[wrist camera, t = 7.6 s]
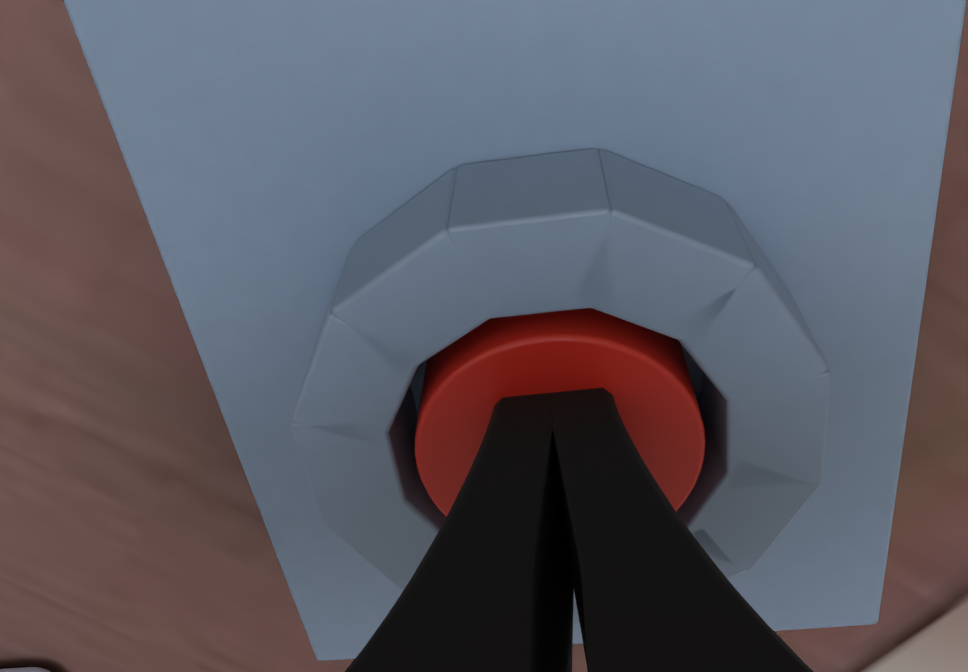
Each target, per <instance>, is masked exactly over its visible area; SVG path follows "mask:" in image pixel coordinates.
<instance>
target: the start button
mask: <svg viewBox="0 0 968 672" xmlns="http://www.w3.org/2000/svg"><path fill="white" fill-rule="evenodd" d="M593 388H604V389H606V390H607V391H608V392H610V393H611V394H612V395H613V398H614V401H615V404H616V407H617V409H618V412H619V415H620V417H621V419H622V421H623V424H624V426H625V428H626V430H627V432H628V434H629V436H630V438H631V439H632V441H633V443H634V445H635V447H636V449H637V450H638V452H639V454H640V456H641V458H642V459H643V461H644V463H645V464H646V466H647V468H648V469H649V471H650V473H651V474H652V476H653V477H654V479H655V480H656V482H657V483H658V485H659V487H660V488H661V490H662V491H663V493H664V494H665V496H666V497H667V499H668V500H669V502H670V503H671V505H672V506H673V508H674V509H675V511H677V510H678V509H679V508H680V507H681V505H682V504H683V503H684V502H685V500H686V499H687V498H688V496H689V494H690V493H691V491H692V489H693V488H694V486H695V483H696V481H697V479H698V476H699V474H700V472H701V468H702V464H703V460H704V456H705V442H706V440H705V430H704V424H703V421H702V417H701V413H700V410H699V406H698V403H697V399H696V396H695V392H694V388H693V385H692V381H691V378H690V374H689V371H688V367H687V364H686V360H685V356H684V353H683V349H682V346H681V343H680V342H679V341H678V340H677V339H675V338H672V337H669V336H666V335H664V334H661V333H658V332H655V331H653V330H650V329H647V328H645V327H642V326H639V325H636V324H634V323H631V322H628V321H625V320H623V319H620V318H617V317H615V316H612V315H609V314H606V313H604V312H601V311H598V310H595V309H593V308H584V309H575V310H565V311H556V312H547V313H537V314H528V315H518V316H509V317H500V318H490V319H489V320H487V321H485V322H484V323H482V324H481V325H479V326H478V327H476V328H475V329H473V330H472V331H470V332H469V333H467V334H466V335H464V336H462V337H461V338H459V339H458V340H456V341H455V342H453V343H452V344H450V345H449V346H447V347H446V348H444V349H443V350H441V351H439V352H438V353H436V354H435V355H433V356H432V357H430V358H429V359H427V363H426V369H425V376H424V382H423V389H422V395H421V401H420V408H419V414H418V421H417V427H416V434H415V458H416V464H417V469H418V472H419V475H420V478H421V481H422V483H423V485H424V487H425V488H426V490H427V492H428V494H429V496H430V498H431V499H432V500H433V502H434V503H435V505H436V506H437V507H438V509H439V510H440V511H441V512H442V513H443V514H444V515H445V516H446V517H447V515H448V513H449V511H450V509H451V507H452V505H453V503H454V501H455V499H456V497H457V495H458V493H459V491H460V489H461V487H462V485H463V483H464V481H465V479H466V477H467V475H468V473H469V471H470V468H471V466H472V464H473V462H474V459H475V457H476V455H477V453H478V450H479V448H480V445H481V443H482V440H483V438H484V435H485V433H486V430H487V427H488V424H489V422H490V419H491V416H492V412H493V409H494V406H495V405H496V403H497V402H498V401H499V400H500V399H501V398H502V397H511V396H521V395H532V394H542V393H552V392H563V391H573V390H583V389H593Z"/></svg>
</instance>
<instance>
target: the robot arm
mask: <svg viewBox="0 0 968 672" xmlns="http://www.w3.org/2000/svg"><path fill="white" fill-rule="evenodd" d="M574 593H575V599H576V605H577V611H578V616H579V622H580V628H581V634H582V639H583V645H584V651H585V657H586V662H587V669H588V672H813V671H812V670H811V669H810V668H809V667H808V666H807V665H806V664H805V663H804V662H803V661H802V660H801V659H800V658H799V657H798V656H797V655H796V654H795V653H794V652H793V651H792V650H791V649H790V647H789V646H788V645H787V644H786V643H785V642H784V641H783V640H782V639H781V638H780V637H779V636H778V635H777V634H776V633H775V632H774V631H773V630H772V629H771V628H770V627H769V626H768V625H767V623H766V622H765V621H764V620H763V619H762V618H761V617H760V616H759V615H758V613H757V612H756V611H755V610H754V609H753V608H752V607H751V606H750V604H749V603H748V602H747V601H746V600H745V599H744V598H743V597H742V596H741V594H740V593H739V592H738V591H737V590H736V589H735V587H734V586H733V585H732V584H731V583H730V581H729V580H728V579H727V578H726V577H725V575H724V574H723V573H722V572H721V570H720V569H719V568H718V567H717V566H716V564H715V563H714V562H713V561H712V559H711V558H710V557H709V555H708V554H707V553H706V551H705V550H704V549H703V548H702V546H701V545H700V544H699V542H698V541H697V540H696V538H695V537H694V536H693V534H692V533H691V532H690V530H689V529H688V528H687V526H686V525H685V523H684V522H683V521H682V519H681V518H680V516H679V515H678V514H677V512H676V511H675V509H674V508H673V506H672V505H671V503H670V502H669V500H668V499H667V497H666V496H665V494H664V493H663V491H662V490H661V488H660V487H659V485H658V483H657V482H656V480H655V479H654V477H653V476H652V474H651V473H650V471H649V469H648V468H647V466H646V464H645V463H644V461H643V459H642V458H641V456H640V454H639V452H638V450H637V449H636V447H635V445H634V443H633V441H632V439H631V438H630V436H629V434H628V432H627V430H626V428H625V426H624V424H623V421H622V419H621V417H620V415H619V412H618V409H617V407H616V404H615V401H614V398H613V395H612V394H611V393H610V392H608V391H607V390H606V389H604V388H593V389H583V390H573V391H563V392H552V393H542V394H532V395H521V396H511V397H502V398H501V399H500V400H499V401H498V402H497V403H496V405H495V406H494V409H493V412H492V416H491V419H490V422H489V424H488V427H487V430H486V433H485V435H484V438H483V440H482V443H481V445H480V448H479V450H478V453H477V455H476V457H475V459H474V462H473V464H472V466H471V468H470V471H469V473H468V475H467V477H466V479H465V481H464V483H463V485H462V487H461V489H460V491H459V493H458V495H457V497H456V499H455V501H454V503H453V505H452V507H451V509H450V511H449V513H448V515H447V517H446V519H445V521H444V523H443V525H442V526H441V528H440V530H439V532H438V533H437V535H436V537H435V539H434V540H433V542H432V544H431V545H430V547H429V549H428V551H427V552H426V554H425V556H424V557H423V559H422V561H421V563H420V564H419V566H418V568H417V569H416V571H415V573H414V575H413V576H412V578H411V579H410V581H409V583H408V584H407V586H406V587H405V589H404V590H403V592H402V593H401V595H400V596H399V598H398V600H397V601H396V603H395V604H394V606H393V607H392V608H391V610H390V611H389V613H388V614H387V616H386V617H385V619H384V620H383V621H382V623H381V624H380V626H379V627H378V629H377V630H376V631H375V633H374V634H373V636H372V637H371V638H370V640H369V641H368V643H367V644H366V645H365V647H364V648H363V649H362V651H361V652H360V653H359V655H358V656H357V657H356V658H355V660H354V661H353V662H352V663H351V665H350V666H349V667H348V668H347V670H346V671H345V672H572V643H573V603H574ZM0 672H51V671H49V670H47V669H44V668H40V667H22V668H7V669H0Z"/></svg>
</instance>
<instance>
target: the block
mask: <svg viewBox="0 0 968 672" xmlns="http://www.w3.org/2000/svg"><path fill="white" fill-rule="evenodd" d="M63 1H64V4H65V6H66V9H67V11H68V14H69V17H70V19H71V22H72V24H73V27H74V30H75V32H76V35H77V37H78V40H79V43H80V45H81V48H82V50H83V53H84V56H85V58H86V61H87V63H88V66H89V69H90V71H91V74H92V76H93V79H94V82H95V84H96V87H97V89H98V92H99V95H100V97H101V100H102V102H103V105H104V108H105V110H106V113H107V115H108V118H109V121H110V123H111V126H112V128H113V131H114V134H115V136H116V139H117V141H118V144H119V147H120V149H121V152H122V154H123V157H124V160H125V162H126V165H127V167H128V170H129V173H130V175H131V178H132V180H133V183H134V186H135V188H136V191H137V193H138V196H139V199H140V201H141V204H142V206H143V209H144V212H145V214H146V217H147V219H148V222H149V225H150V227H151V230H152V232H153V235H154V238H155V240H156V243H157V245H158V248H159V251H160V253H161V256H162V258H163V261H164V264H165V266H166V269H167V271H168V274H169V277H170V279H171V282H172V284H173V287H174V290H175V292H176V295H177V297H178V300H179V303H180V305H181V308H182V310H183V313H184V316H185V318H186V321H187V323H188V326H189V329H190V331H191V334H192V336H193V339H194V342H195V344H196V347H197V349H198V352H199V355H200V357H201V360H202V362H203V365H204V368H205V370H206V373H207V375H208V378H209V381H210V383H211V386H212V388H213V391H214V394H215V396H216V399H217V401H218V404H219V407H220V409H221V412H222V414H223V417H224V420H225V422H226V425H227V427H228V430H229V433H230V435H231V438H232V440H233V443H234V446H235V448H236V451H237V453H238V456H239V459H240V461H241V464H242V466H243V469H244V472H245V474H246V477H247V479H248V482H249V485H250V487H251V490H252V492H253V495H254V498H255V500H256V503H257V505H258V508H259V511H260V513H261V516H262V518H263V521H264V524H265V526H266V529H267V531H268V534H269V537H270V539H271V542H272V544H273V547H274V550H275V552H276V555H277V557H278V560H279V563H280V565H281V568H282V570H283V573H284V576H285V578H286V581H287V583H288V586H289V589H290V591H291V594H292V596H293V599H294V602H295V604H296V607H297V609H298V612H299V615H300V617H301V620H302V622H303V625H304V628H305V630H306V633H307V635H308V638H309V641H310V643H311V646H312V648H313V651H314V653H315V656H316V659H317V660H320V661H327V660H342V659H355V658H356V657H357V656H358V655H359V653H360V652H361V651H362V649H363V648H364V647H365V645H366V644H367V643H368V641H369V640H370V638H371V637H372V636H373V634H374V633H375V631H376V630H377V629H378V627H379V626H380V624H381V623H382V621H383V620H384V619H385V617H386V616H387V614H388V613H389V611H390V610H391V608H392V607H393V606H394V604H395V603H396V601H397V600H398V598H399V596H400V595H401V593H402V592H403V590H404V589H405V587H406V586H407V584H408V583H409V581H410V579H411V578H412V576H413V575H414V573H415V571H416V569H417V568H418V566H419V564H420V563H421V561H422V559H423V557H424V556H425V554H426V552H427V551H428V549H429V547H430V545H431V544H432V542H433V540H434V539H435V537H436V535H437V533H438V532H439V530H440V528H441V526H442V525H443V523H444V521H445V519H446V516H445V515H444V514H443V513H442V512H441V511H440V510H439V509H438V507H437V506H436V505H435V503H434V502H433V500H432V499H431V498H430V496H429V494H428V492H427V490H426V488H425V487H424V485H423V483H422V481H421V478H420V475H419V472H418V469H417V464H416V458H415V434H416V427H417V421H418V414H419V408H420V401H421V395H422V389H423V382H424V376H425V369H426V363H427V359H429V358H430V357H432V356H433V355H435V354H436V353H438V352H439V351H441V350H443V349H444V348H446V347H447V346H449V345H450V344H452V343H453V342H455V341H456V340H458V339H459V338H461V337H462V336H464V335H466V334H467V333H469V332H470V331H472V330H473V329H475V328H476V327H478V326H479V325H481V324H482V323H484V322H485V321H487V320H489V319H490V318H500V317H509V316H518V315H528V314H537V313H547V312H556V311H565V310H575V309H584V308H593V309H595V310H598V311H601V312H604V313H606V314H609V315H612V316H615V317H617V318H620V319H623V320H625V321H628V322H631V323H634V324H636V325H639V326H642V327H645V328H647V329H650V330H653V331H655V332H658V333H661V334H664V335H666V336H669V337H672V338H675V339H677V340H678V341H679V342H680V343H681V346H682V349H683V353H684V356H685V360H686V364H687V367H688V371H689V374H690V378H691V381H692V385H693V388H694V392H695V396H696V399H697V403H698V406H699V410H700V413H701V417H702V421H703V424H704V430H705V440H706V442H705V456H704V460H703V464H702V468H701V472H700V474H699V476H698V479H697V481H696V483H695V486H694V488H693V489H692V491H691V493H690V494H689V496H688V498H687V499H686V500H685V502H684V503H683V504H682V505H681V507H680V508H679V509H678V510H677V511H676V512H677V514H678V515H679V516H680V518H681V519H682V521H683V522H684V523H685V525H686V526H687V528H688V529H689V530H690V532H691V533H692V534H693V536H694V537H695V538H696V540H697V541H698V542H699V544H700V545H701V546H702V548H703V549H704V550H705V551H706V553H707V554H708V555H709V557H710V558H711V559H712V561H713V562H714V563H715V564H716V566H717V567H718V568H719V569H720V570H721V572H722V573H723V574H724V575H725V577H726V578H727V579H728V580H729V581H730V583H731V584H732V585H733V586H734V587H735V589H736V590H737V591H738V592H739V593H740V594H741V596H742V597H743V598H744V599H745V600H746V601H747V602H748V603H749V604H750V606H751V607H752V608H753V609H754V610H755V611H756V612H757V613H758V615H759V616H760V617H761V618H762V619H763V620H764V621H765V622H766V623H767V625H768V626H769V627H770V628H771V629H772V630H773V631H779V630H794V629H809V628H825V627H840V626H855V625H870V624H875V623H877V622H878V618H879V611H880V604H881V597H882V590H883V583H884V576H885V569H886V562H887V554H888V547H889V540H890V533H891V526H892V519H893V512H894V505H895V498H896V491H897V484H898V477H899V470H900V463H901V456H902V449H903V442H904V435H905V428H906V421H907V414H908V407H909V400H910V393H911V386H912V379H913V372H914V365H915V358H916V351H917V344H918V337H919V330H920V323H921V316H922V309H923V302H924V295H925V288H926V281H927V274H928V267H929V260H930V253H931V246H932V239H933V232H934V225H935V218H936V211H937V204H938V197H939V190H940V183H941V176H942V168H943V161H944V154H945V147H946V140H947V133H948V126H949V119H950V112H951V105H952V98H953V91H954V84H955V77H956V70H957V63H958V56H959V49H960V42H961V35H962V28H963V21H964V14H965V7H966V0H63ZM572 644H583V639H582V634H581V628H580V622H579V616H578V611H577V605H576V599H575V593H574V603H573V643H572Z"/></svg>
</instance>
